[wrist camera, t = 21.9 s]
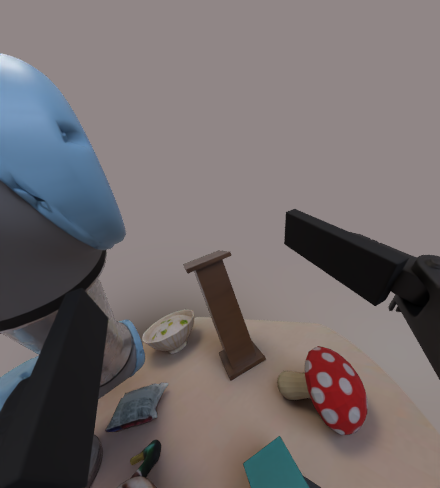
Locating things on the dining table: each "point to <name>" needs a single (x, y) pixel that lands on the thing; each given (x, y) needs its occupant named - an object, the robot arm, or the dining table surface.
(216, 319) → the stand
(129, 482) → the decorative duck model
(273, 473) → the teal long block
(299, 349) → the dining table surface
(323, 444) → the dining table surface
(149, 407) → the packaged food
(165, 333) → the bowl
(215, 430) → the dining table surface
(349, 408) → the decorative mushroom
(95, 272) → the robot arm
